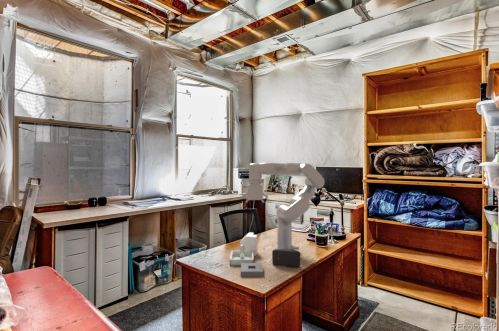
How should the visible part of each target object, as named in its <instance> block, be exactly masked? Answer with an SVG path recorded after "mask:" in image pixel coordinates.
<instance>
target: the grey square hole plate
mask: <svg viewBox="0 0 499 331" xmlns="http://www.w3.org/2000/svg"><path fill="white" fill-rule="evenodd" d="M263 265H264V264H263V262H254V263H241V265H240V277H264V267H263Z"/></svg>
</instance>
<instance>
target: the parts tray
mask: <svg viewBox="0 0 499 331" xmlns="http://www.w3.org/2000/svg"><path fill="white" fill-rule="evenodd" d="M254 258H255V257H254V255H253V251H245V259H240V250H231V252H230V255H229V266H241V263H255V262H254Z"/></svg>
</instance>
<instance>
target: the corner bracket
mask: <svg viewBox="0 0 499 331" xmlns="http://www.w3.org/2000/svg"><path fill="white" fill-rule="evenodd" d="M241 244H243V245H245V251H253V256H257V254H258V235H257V234H255V233H254V232H248V233H246V234H245V235H244V237H243V238H242V239H241V240H240V241H239V246H240V245H241Z"/></svg>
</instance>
